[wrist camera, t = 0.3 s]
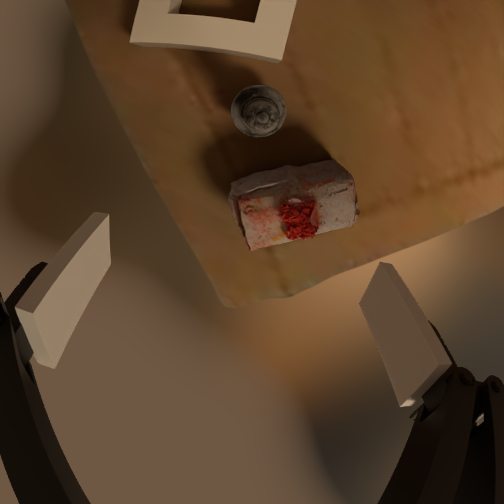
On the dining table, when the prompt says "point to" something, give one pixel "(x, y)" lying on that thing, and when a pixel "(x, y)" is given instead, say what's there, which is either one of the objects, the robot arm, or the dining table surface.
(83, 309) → the robot arm
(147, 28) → the square frame
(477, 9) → the dining table surface
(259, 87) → the dark chess piece
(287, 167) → the food item
